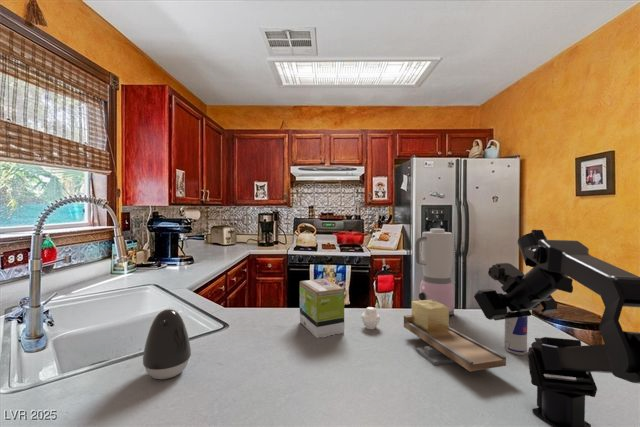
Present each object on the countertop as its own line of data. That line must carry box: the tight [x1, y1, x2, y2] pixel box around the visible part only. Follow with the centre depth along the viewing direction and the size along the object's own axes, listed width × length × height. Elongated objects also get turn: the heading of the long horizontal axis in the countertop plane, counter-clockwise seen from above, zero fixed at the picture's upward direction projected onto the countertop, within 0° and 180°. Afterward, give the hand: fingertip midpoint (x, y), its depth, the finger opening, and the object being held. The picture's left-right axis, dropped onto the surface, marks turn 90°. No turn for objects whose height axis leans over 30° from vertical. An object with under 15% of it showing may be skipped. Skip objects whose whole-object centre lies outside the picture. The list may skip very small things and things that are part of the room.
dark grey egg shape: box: [142, 308, 192, 380], centre depth 74 cm, size 10×10×15 cm
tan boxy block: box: [411, 299, 450, 334], centre depth 92 cm, size 8×7×7 cm
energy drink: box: [503, 316, 529, 356], centre depth 87 cm, size 5×5×12 cm
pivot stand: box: [415, 345, 456, 366], centre depth 84 cm, size 8×14×2 cm, turn 106°
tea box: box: [299, 278, 345, 339], centre depth 103 cm, size 15×10×15 cm, turn 25°
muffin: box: [360, 306, 381, 330], centre depth 103 cm, size 6×6×7 cm
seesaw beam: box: [403, 314, 507, 372], centre depth 84 cm, size 28×10×4 cm, turn 16°
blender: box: [414, 228, 455, 316], centre depth 118 cm, size 16×12×32 cm
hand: (494, 318), depth 77 cm, fingers closed
